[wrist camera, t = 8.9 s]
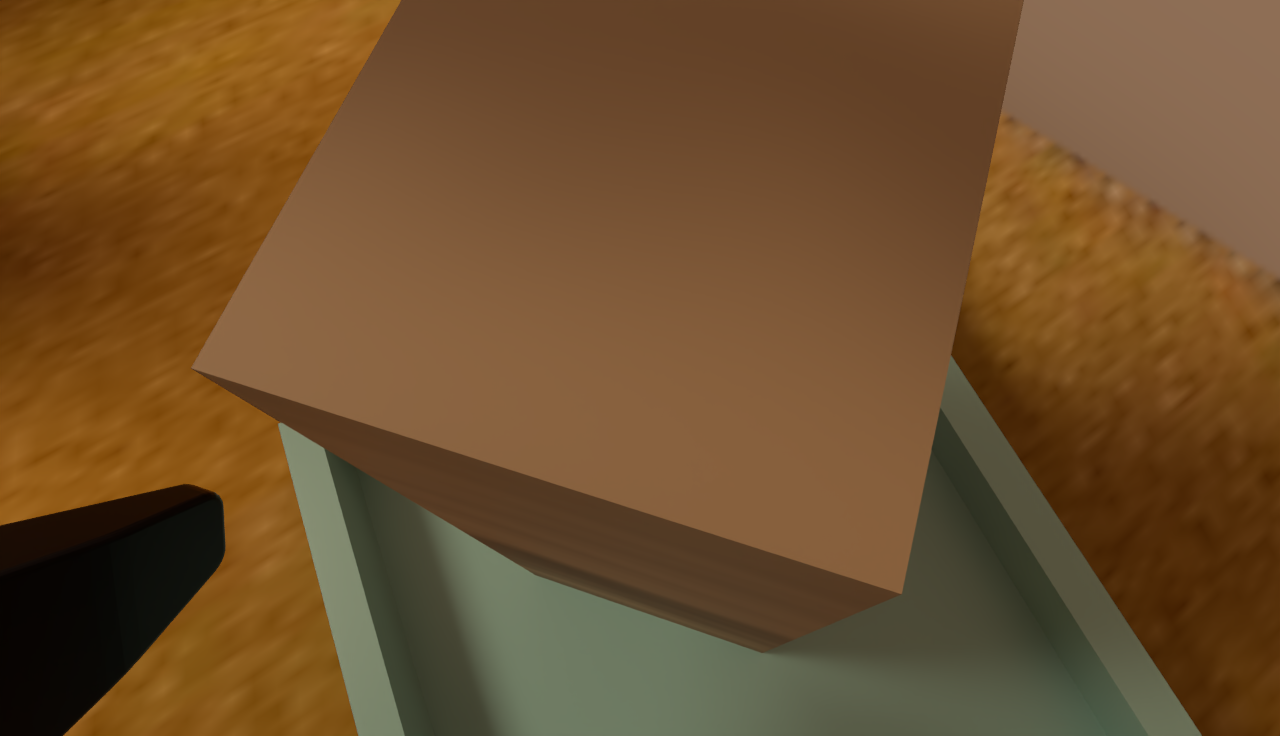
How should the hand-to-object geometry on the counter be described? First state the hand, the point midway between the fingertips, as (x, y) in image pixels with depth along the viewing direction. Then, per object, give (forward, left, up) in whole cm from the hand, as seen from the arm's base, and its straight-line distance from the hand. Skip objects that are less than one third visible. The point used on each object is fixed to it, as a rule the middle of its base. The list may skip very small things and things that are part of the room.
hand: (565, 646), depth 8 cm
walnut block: (+3, -2, -8) cm, 9 cm away
